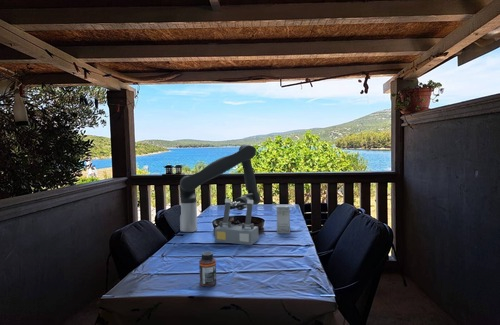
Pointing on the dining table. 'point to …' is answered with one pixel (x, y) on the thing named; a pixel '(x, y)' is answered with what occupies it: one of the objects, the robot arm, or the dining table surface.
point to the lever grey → (248, 213)
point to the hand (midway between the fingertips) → (230, 207)
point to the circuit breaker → (283, 219)
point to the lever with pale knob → (226, 212)
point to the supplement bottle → (207, 269)
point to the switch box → (236, 234)
